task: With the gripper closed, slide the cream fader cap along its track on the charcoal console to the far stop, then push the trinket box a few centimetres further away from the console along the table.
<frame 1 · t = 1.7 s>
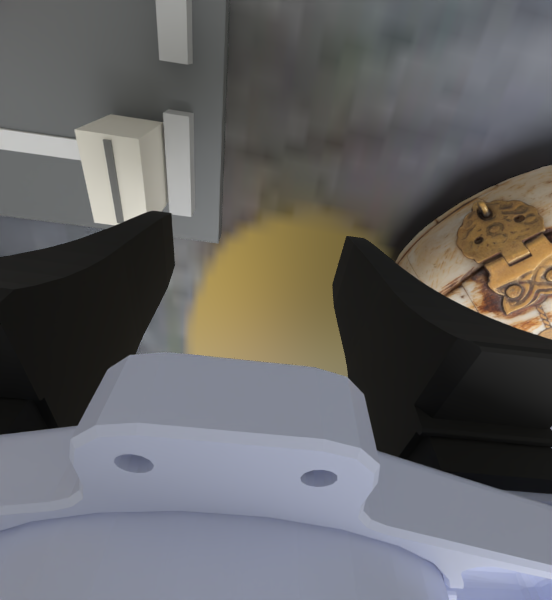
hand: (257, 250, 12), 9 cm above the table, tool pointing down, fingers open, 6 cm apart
console: (18, 58, 16), on the table
trinket box: (486, 254, 23), on the table
fader 1: (129, 172, 16), point 3 cm above the table, slide at 0.0 cm
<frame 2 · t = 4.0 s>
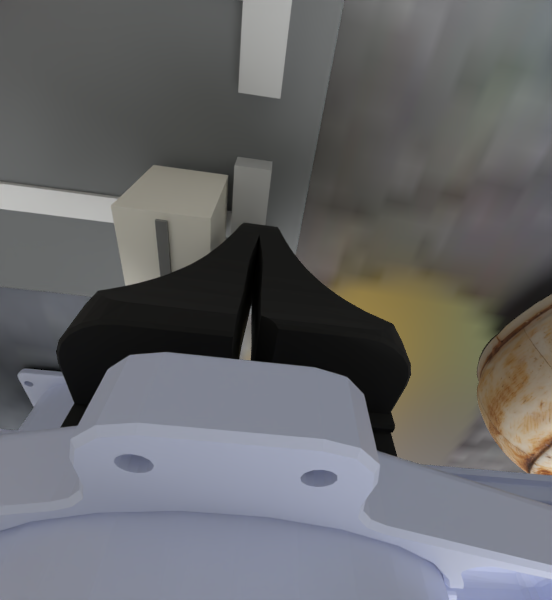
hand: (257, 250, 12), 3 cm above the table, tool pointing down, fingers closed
console: (24, 85, 11), on the table
fader 1: (180, 248, 11), point 3 cm above the table, slide at 0.1 cm, touching gripper
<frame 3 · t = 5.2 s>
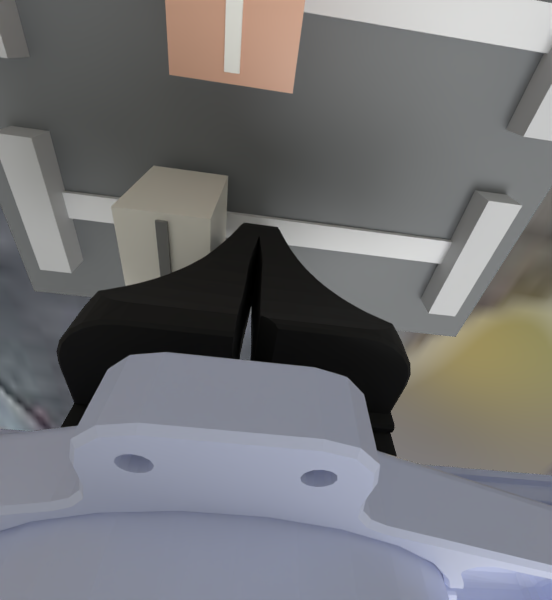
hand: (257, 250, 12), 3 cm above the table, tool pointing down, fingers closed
console: (275, 123, 12), on the table
fader 1: (180, 248, 11), point 3 cm above the table, slide at 8.7 cm, touching gripper
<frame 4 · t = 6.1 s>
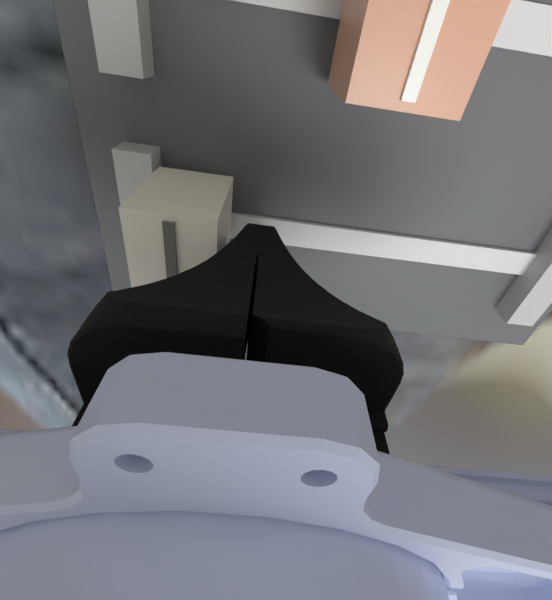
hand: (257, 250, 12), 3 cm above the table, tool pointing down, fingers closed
console: (373, 138, 12), on the table
fader 1: (186, 249, 11), point 4 cm above the table, slide at 12.1 cm, touching gripper
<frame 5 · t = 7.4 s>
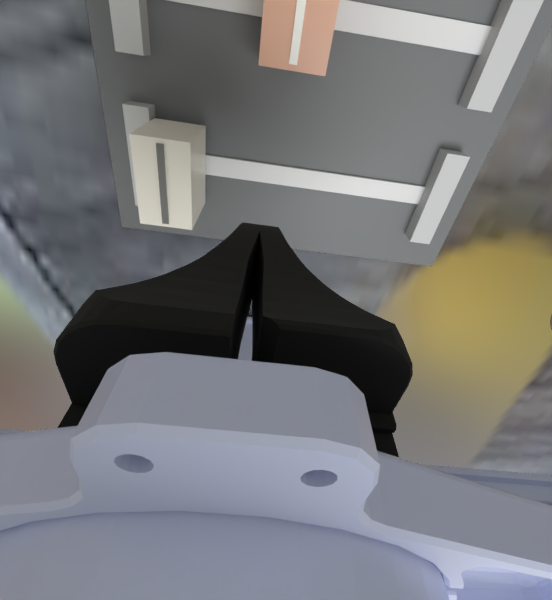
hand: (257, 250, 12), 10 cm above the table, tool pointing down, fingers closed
console: (304, 101, 17), on the table
fader 2: (299, 3, 12), point 4 cm above the table, slide at 7.0 cm
fader 1: (173, 174, 16), point 3 cm above the table, slide at 12.0 cm
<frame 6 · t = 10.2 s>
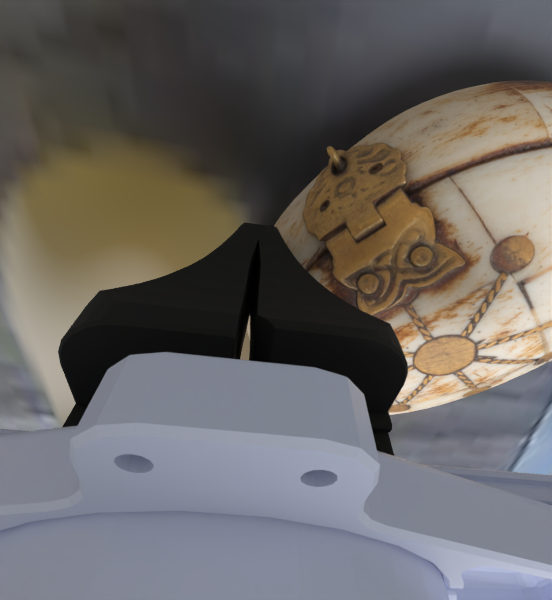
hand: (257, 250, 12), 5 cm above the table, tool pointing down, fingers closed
trinket box: (393, 237, 17), on the table, touching gripper
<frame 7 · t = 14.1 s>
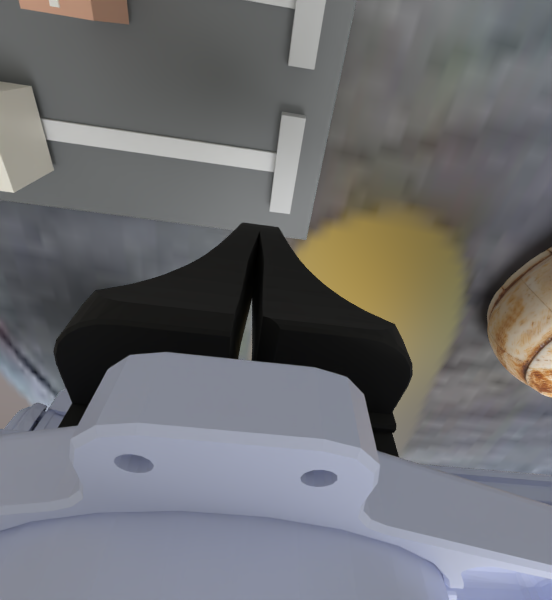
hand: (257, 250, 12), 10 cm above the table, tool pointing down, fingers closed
console: (140, 62, 17), on the table
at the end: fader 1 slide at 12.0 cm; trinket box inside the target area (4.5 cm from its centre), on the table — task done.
